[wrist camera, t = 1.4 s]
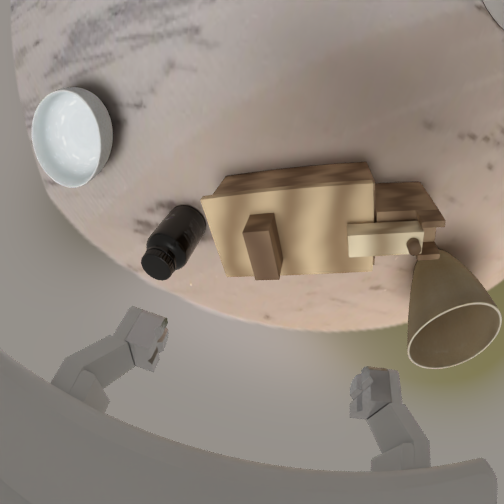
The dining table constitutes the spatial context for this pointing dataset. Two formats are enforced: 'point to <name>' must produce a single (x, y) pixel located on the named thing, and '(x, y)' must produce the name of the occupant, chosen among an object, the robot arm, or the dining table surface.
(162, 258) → the supplement bottle
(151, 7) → the dining table surface
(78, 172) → the cereal bowl
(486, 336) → the plant pot
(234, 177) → the open wooden box
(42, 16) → the dining table surface
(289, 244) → the lid
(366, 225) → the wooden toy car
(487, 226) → the dining table surface
